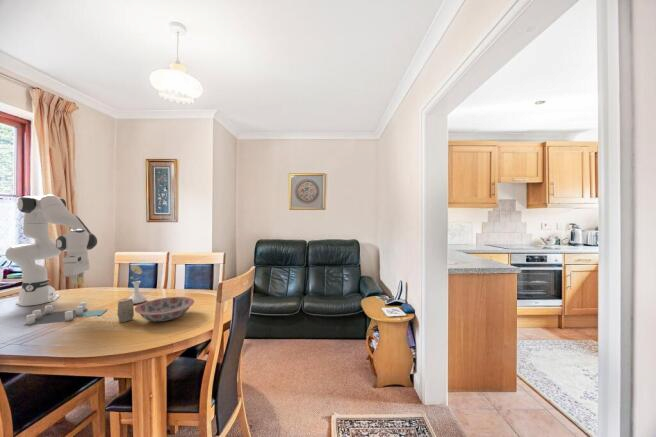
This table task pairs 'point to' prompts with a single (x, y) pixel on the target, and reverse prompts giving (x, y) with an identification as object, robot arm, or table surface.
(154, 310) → the ceramic bowl
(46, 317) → the spacer mat
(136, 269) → the flower in vase
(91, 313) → the teal tile
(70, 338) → the table surface
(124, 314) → the carving
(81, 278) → the brass nut
